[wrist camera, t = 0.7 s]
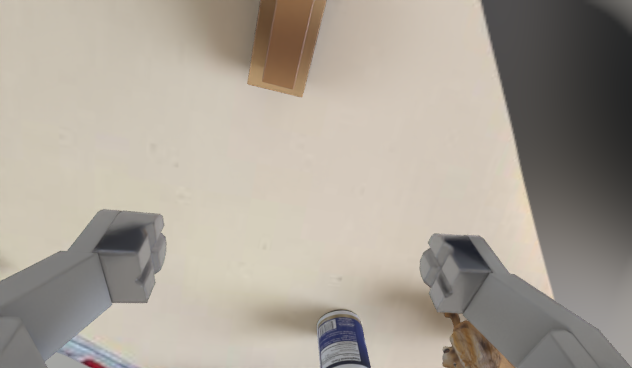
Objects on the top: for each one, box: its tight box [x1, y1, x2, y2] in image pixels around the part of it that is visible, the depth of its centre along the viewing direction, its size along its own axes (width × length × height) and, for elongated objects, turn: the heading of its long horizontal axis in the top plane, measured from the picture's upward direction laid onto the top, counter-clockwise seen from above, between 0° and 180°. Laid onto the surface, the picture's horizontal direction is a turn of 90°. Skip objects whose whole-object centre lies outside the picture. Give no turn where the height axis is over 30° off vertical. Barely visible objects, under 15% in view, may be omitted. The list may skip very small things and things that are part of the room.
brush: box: [247, 0, 327, 97], centre depth 19 cm, size 8×4×6 cm, turn 164°
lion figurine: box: [442, 312, 515, 368], centre depth 37 cm, size 15×5×9 cm, turn 50°
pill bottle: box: [317, 310, 371, 368], centre depth 35 cm, size 5×5×10 cm
